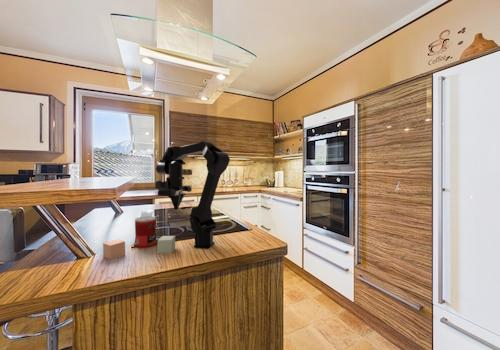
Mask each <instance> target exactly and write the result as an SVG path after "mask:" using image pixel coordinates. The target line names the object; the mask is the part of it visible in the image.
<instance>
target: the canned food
mask: <svg viewBox="0 0 500 350" xmlns="http://www.w3.org/2000/svg"><path fill="white" fill-rule="evenodd" d="M134 223H135V224H134V228H135V229H134V233H135V237H134V238H135V246H136V247H137V248H139V249H145V248H146V247H147V248H151V247H154V246H155V245H156V244H157V217H156V216H152V215H151V216H140V217H136V218H135V220H134Z"/></svg>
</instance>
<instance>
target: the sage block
mask: <svg viewBox="0 0 500 350" xmlns="http://www.w3.org/2000/svg"><path fill="white" fill-rule="evenodd" d="M175 249H176V235H162V236H161V237H160V238H159V239H158V238H157V254H172V253H173V252H174V250H175Z"/></svg>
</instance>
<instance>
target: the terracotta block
mask: <svg viewBox="0 0 500 350" xmlns="http://www.w3.org/2000/svg"><path fill="white" fill-rule="evenodd" d="M102 246H103V247H102V249H103V250H102V251H103V257H104V258H106V259H108V260H110V261H111V260H114V259H116V258H120V257H123V256H125V255H126V241H124V240H121V239H120V238H119V239H118V238H116V239H114V240H110V241H106V242H103V243H102Z"/></svg>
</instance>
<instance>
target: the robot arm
mask: <svg viewBox="0 0 500 350" xmlns="http://www.w3.org/2000/svg"><path fill="white" fill-rule="evenodd" d="M201 153H202V156H203V158H204V159H205V160H206V169H207V176H206V179H205V180H204V181H205V182H204V184H203V189H202V192H201V195H200V199H199V201H198V204H197V205H196V206H193V207H192V208H191V210H190V214H189V217H190V218H189V222H190V226H191V230H192V233H195V234H194V245H193V248H197V249H199V248H200V249H210V248H211V247H212V246H213V245H214V244H215V243H216V242H215V241H214V230H216V227H217V222H215V220H214V219H213V216H212V215H213V212H212V204H213V201H214V198H215V194H216V191H217V188H218V184H219V181H220V179H221V176H222V174H223V173H225V171H226V170H227V168H228V166H229V164H230V161H231V160H230V159H231V157H230V156H229V154H228V153H227V152H225V151H223V150H221V149H220V148H219V147H217V146H215V144H213V142H211V141H207V140H202V141H199V142H195V143H191V144H186V145H183V146H177V145H176V146H175V145H171V146H170V145H169V146H168V147H167V148H166V150H165V151H164V154H163V156H162V159H160V160H159V162H158V163H157V164H156V167H155V171H156V173H157V174H158V175H168V176H167V177H166V179H165V181H162V180H157V181H155V185H154V188H155V189H157V196H158V197H168V198H169V199H170V201H171V203H172V206H173V208H174V210H175V211H176V210H179V207H180V206H181V203H182V201H183V200H184V197H185V195H186V193H184V192H188V193H190V192H192V186H190V185H183V183H184V182H183V180H185V176H183V165H186V162H185V161H184V159H186V158H187V157H188V156H192V155H196V154H201Z"/></svg>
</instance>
